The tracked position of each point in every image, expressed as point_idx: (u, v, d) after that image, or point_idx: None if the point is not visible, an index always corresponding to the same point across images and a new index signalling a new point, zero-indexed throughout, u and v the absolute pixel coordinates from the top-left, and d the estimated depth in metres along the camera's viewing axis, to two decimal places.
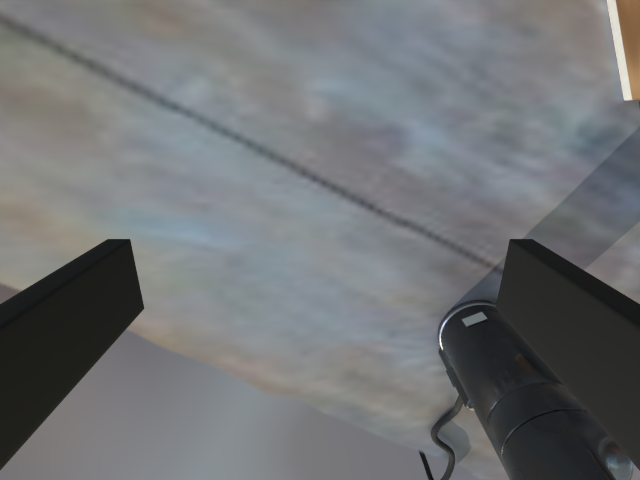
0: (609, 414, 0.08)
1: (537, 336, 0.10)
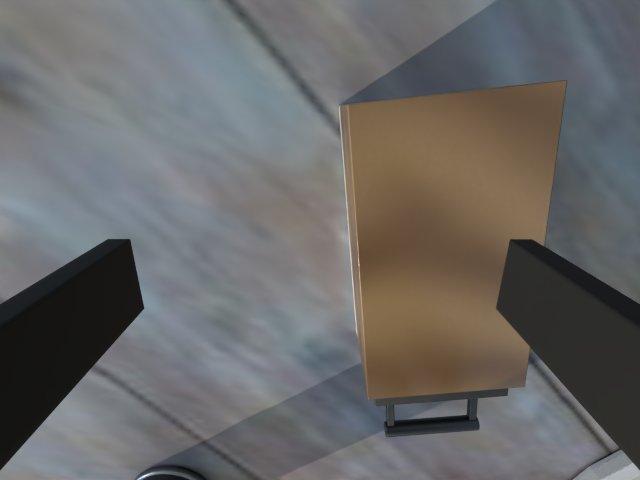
0: (609, 414, 0.08)
1: (537, 336, 0.10)
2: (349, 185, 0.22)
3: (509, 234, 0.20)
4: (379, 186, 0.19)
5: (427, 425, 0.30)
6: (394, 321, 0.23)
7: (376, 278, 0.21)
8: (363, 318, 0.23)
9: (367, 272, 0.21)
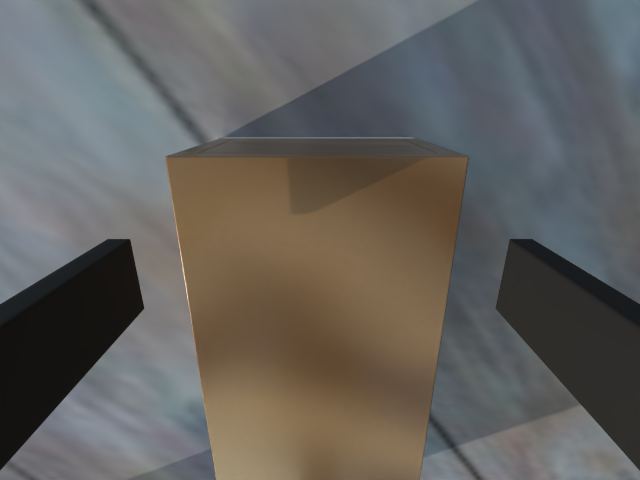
0: (609, 414, 0.08)
1: (537, 336, 0.10)
2: None
3: (393, 340, 0.16)
4: (217, 267, 0.14)
5: None
6: (248, 428, 0.18)
7: (221, 377, 0.16)
8: (208, 422, 0.17)
9: (208, 369, 0.16)
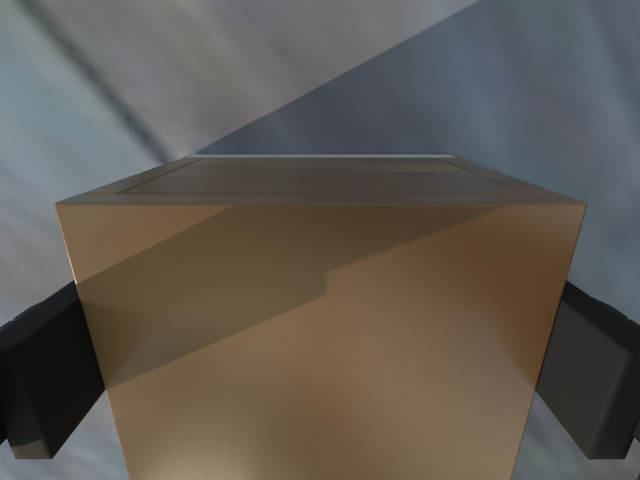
0: (552, 392, 0.08)
1: None
2: None
3: (437, 476, 0.10)
4: (157, 375, 0.09)
5: None
6: None
7: None
8: None
9: None
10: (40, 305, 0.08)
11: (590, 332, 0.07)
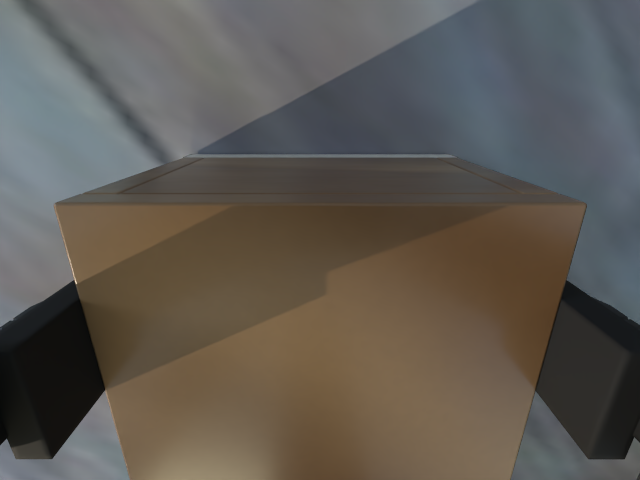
0: (552, 392, 0.08)
1: None
2: None
3: (437, 476, 0.10)
4: (157, 375, 0.09)
5: None
6: None
7: None
8: None
9: None
10: (40, 305, 0.08)
11: (590, 332, 0.07)
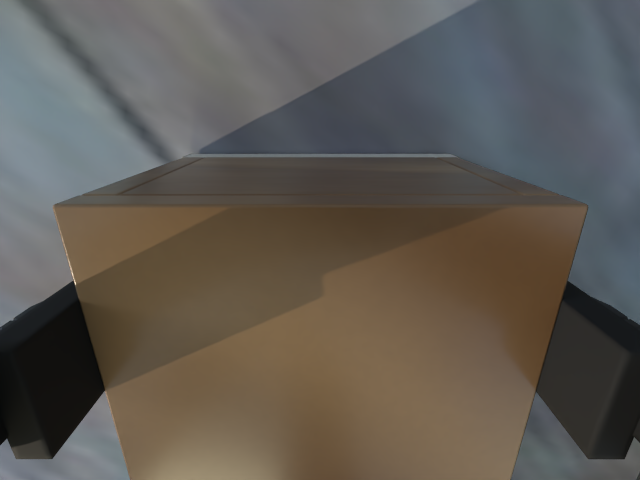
0: (551, 392, 0.08)
1: None
2: None
3: (437, 476, 0.10)
4: (157, 376, 0.09)
5: None
6: None
7: None
8: None
9: None
10: (40, 305, 0.08)
11: (590, 332, 0.07)
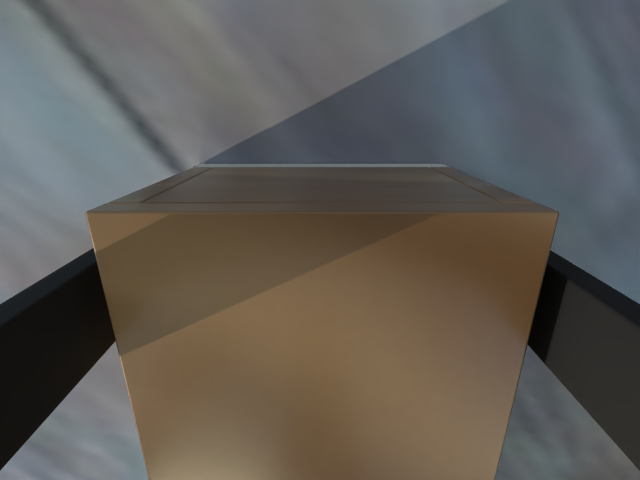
0: (609, 414, 0.08)
1: (537, 336, 0.10)
2: None
3: (430, 463, 0.11)
4: (173, 367, 0.10)
5: None
6: None
7: None
8: None
9: None
10: None
11: None
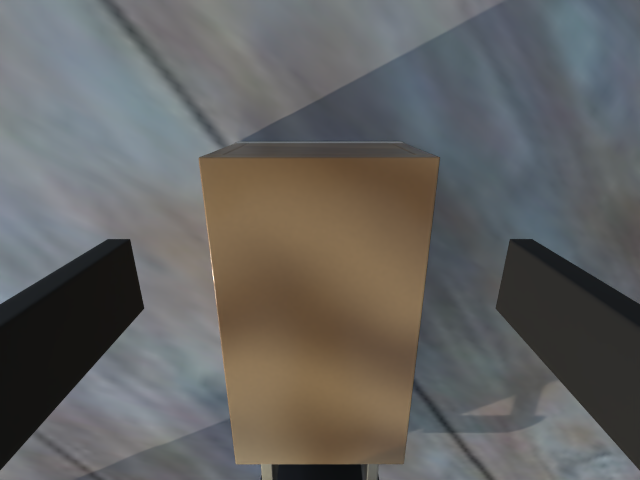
0: (609, 415, 0.08)
1: (537, 336, 0.10)
2: None
3: (382, 310, 0.19)
4: (238, 247, 0.17)
5: None
6: (261, 387, 0.21)
7: (239, 342, 0.20)
8: (226, 382, 0.21)
9: (228, 335, 0.19)
10: None
11: None
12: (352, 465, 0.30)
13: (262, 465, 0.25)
